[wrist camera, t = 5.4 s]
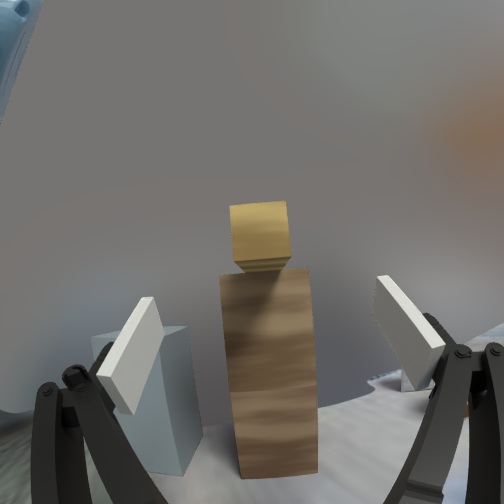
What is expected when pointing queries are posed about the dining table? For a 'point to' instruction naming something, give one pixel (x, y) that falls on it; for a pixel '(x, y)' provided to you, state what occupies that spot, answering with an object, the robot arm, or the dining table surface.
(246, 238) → the ochre bar
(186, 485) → the dining table surface
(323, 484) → the dining table surface
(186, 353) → the light grey tall block
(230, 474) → the dining table surface
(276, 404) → the tall tower
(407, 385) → the medicine box
